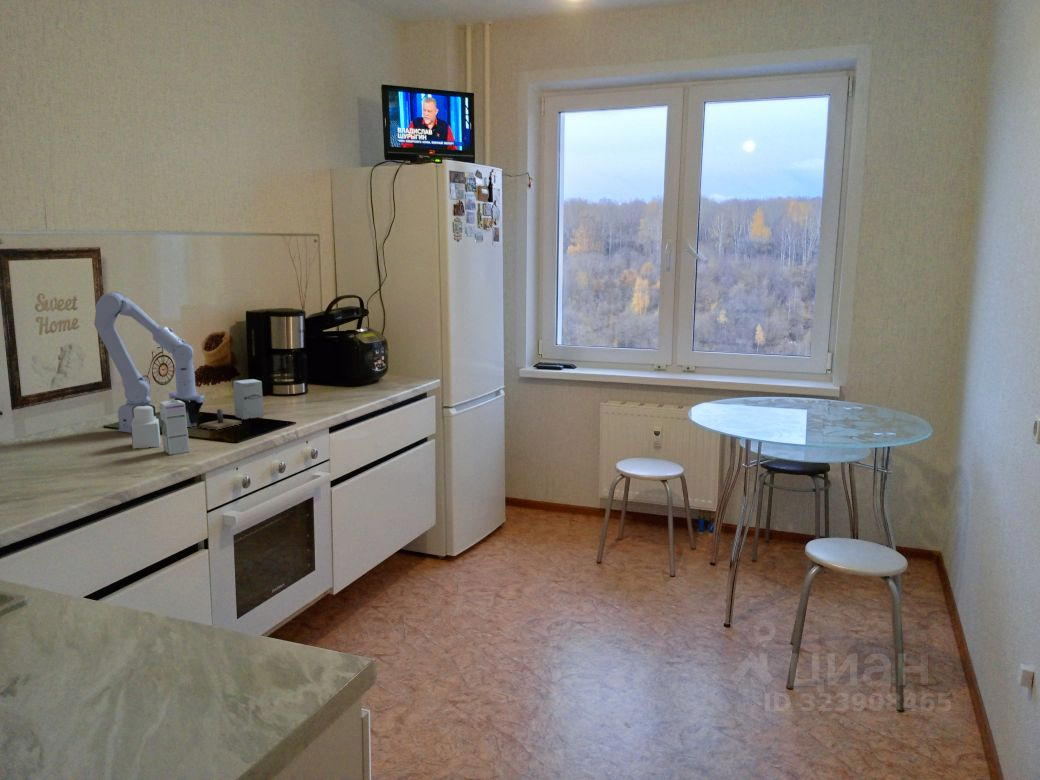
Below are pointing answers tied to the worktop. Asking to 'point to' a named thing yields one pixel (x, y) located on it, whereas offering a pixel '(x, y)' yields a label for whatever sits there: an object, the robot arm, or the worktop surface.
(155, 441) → the medicine bottle
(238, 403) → the supplement box
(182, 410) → the syrup box
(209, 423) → the shaft block
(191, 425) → the tube
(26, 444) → the worktop surface
